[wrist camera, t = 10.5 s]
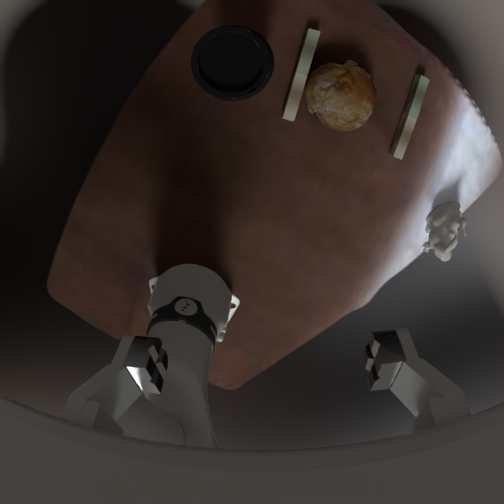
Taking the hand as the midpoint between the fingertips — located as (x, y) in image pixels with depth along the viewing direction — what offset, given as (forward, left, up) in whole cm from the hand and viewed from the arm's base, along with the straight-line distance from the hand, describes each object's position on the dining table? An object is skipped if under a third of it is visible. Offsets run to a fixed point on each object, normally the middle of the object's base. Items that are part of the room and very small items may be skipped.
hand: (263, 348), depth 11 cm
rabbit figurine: (-4, -33, -37) cm, 50 cm away
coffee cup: (+10, +6, -37) cm, 39 cm away
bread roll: (+11, -9, -38) cm, 40 cm away
